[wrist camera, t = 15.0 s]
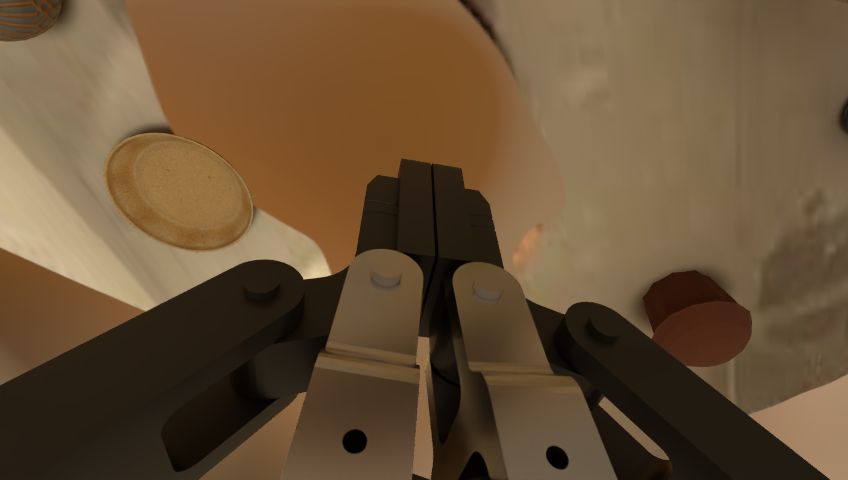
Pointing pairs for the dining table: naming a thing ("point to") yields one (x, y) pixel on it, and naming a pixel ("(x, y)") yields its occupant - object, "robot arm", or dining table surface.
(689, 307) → the muffin
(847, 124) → the soda can
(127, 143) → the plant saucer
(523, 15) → the dining table surface
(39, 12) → the vase
